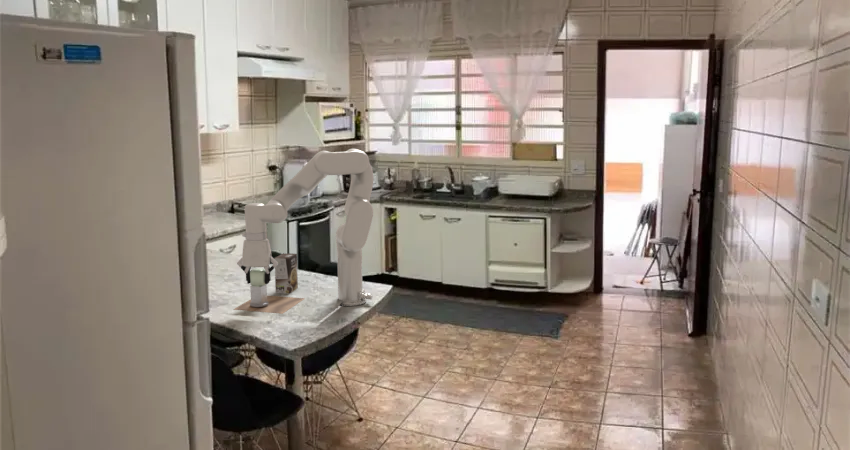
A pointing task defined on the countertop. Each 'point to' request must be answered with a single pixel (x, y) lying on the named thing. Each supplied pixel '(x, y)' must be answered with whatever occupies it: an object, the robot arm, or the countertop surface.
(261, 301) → the grey piece
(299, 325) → the countertop surface
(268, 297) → the base board
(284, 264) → the coffee box
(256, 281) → the cap
